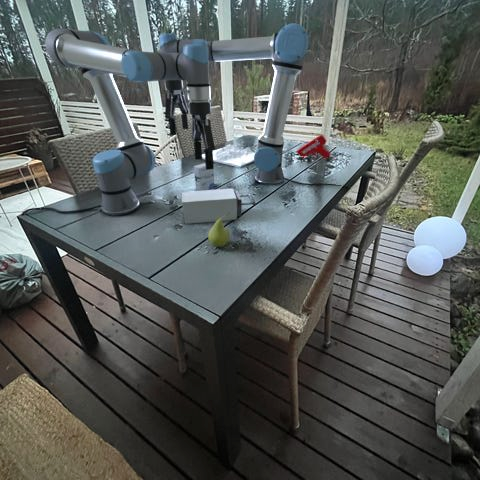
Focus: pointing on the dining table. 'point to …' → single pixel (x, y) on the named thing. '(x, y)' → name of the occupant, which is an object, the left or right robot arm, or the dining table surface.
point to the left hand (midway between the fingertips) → (203, 163)
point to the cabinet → (209, 205)
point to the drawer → (243, 203)
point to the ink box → (203, 177)
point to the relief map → (233, 156)
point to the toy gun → (314, 147)
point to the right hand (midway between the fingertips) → (179, 131)
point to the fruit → (218, 234)
